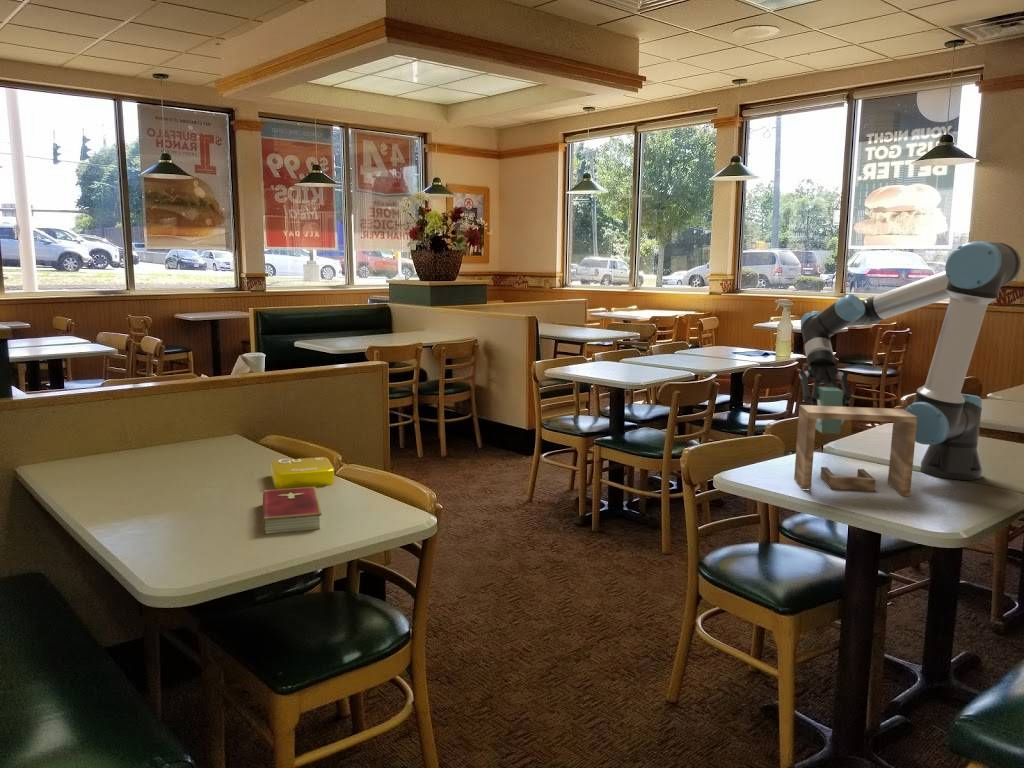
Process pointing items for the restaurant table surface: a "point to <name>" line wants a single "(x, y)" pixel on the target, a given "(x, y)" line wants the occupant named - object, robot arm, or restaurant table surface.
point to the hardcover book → (290, 510)
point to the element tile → (302, 473)
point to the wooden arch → (864, 481)
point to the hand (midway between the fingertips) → (831, 421)
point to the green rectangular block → (829, 398)
